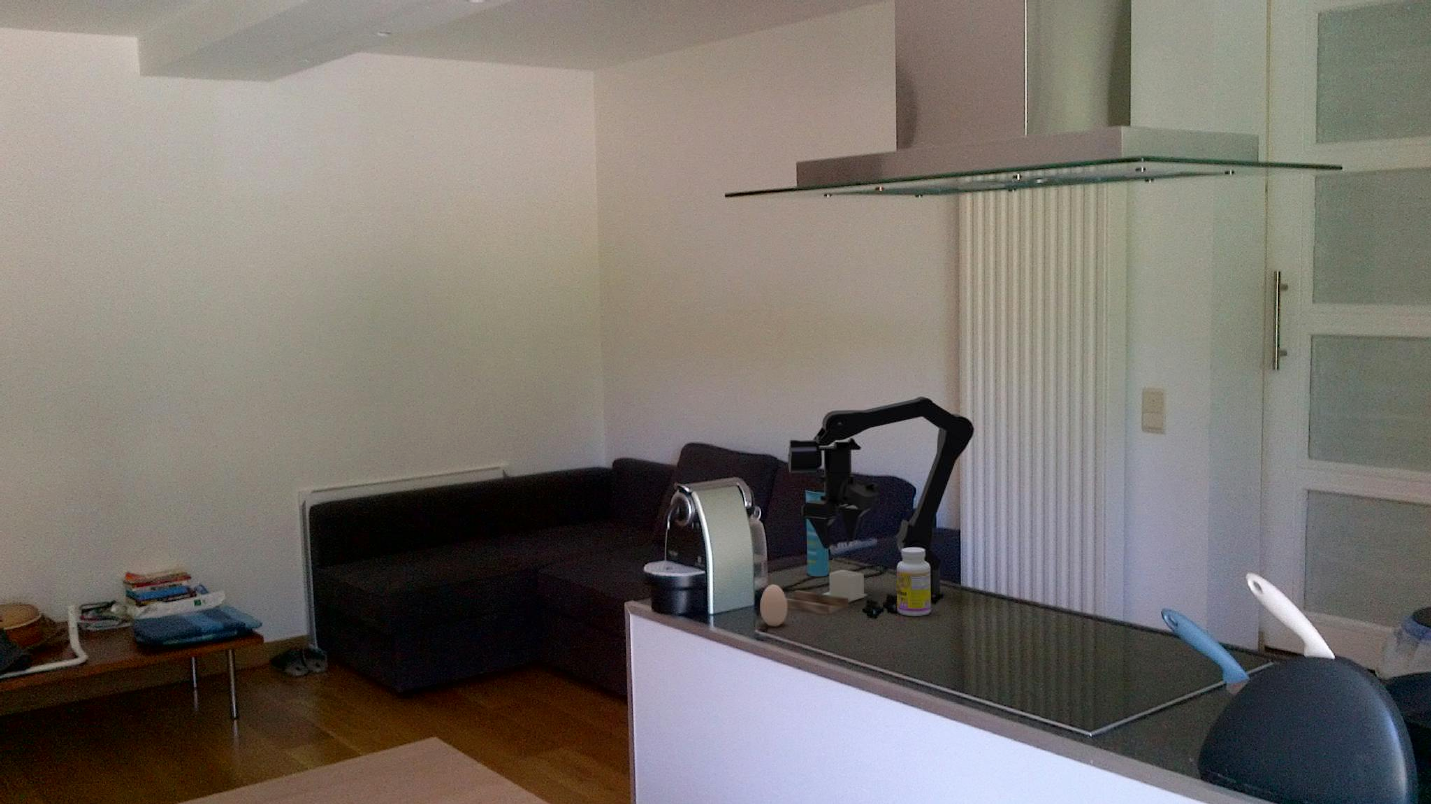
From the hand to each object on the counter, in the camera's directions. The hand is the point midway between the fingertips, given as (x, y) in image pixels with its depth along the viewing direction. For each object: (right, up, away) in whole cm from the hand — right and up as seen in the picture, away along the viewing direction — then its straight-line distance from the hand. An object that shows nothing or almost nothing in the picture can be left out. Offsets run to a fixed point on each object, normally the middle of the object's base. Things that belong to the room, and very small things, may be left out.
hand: (838, 544), depth 265 cm
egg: (-15, -14, -20) cm, 28 cm away
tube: (-2, -10, +24) cm, 26 cm away
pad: (0, -11, +1) cm, 11 cm away
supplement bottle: (+14, -12, -13) cm, 22 cm away
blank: (+2, -11, 0) cm, 11 cm away
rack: (-7, -12, -6) cm, 15 cm away
